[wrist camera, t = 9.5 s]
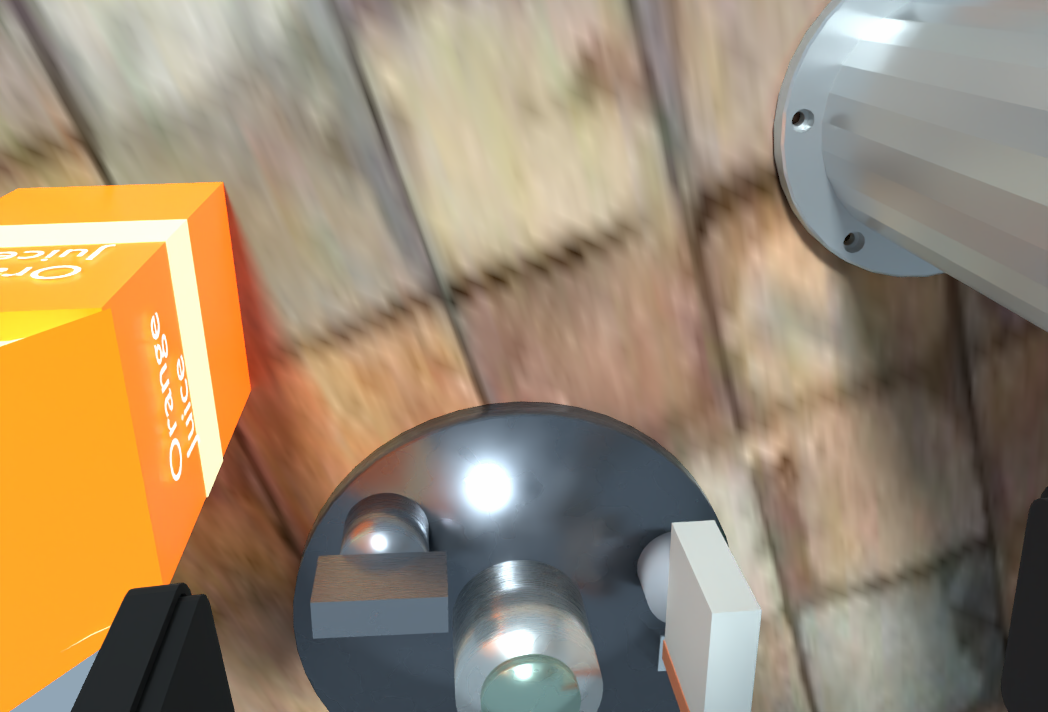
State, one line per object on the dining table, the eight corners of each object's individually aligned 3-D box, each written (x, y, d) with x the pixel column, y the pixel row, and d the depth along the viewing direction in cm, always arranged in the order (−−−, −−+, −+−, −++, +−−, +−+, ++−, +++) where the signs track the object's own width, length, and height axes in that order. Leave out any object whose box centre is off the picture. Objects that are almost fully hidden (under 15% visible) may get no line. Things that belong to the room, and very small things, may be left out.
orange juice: (60, 401, 39) (-275, 795, 20) (13, 186, 35) (-441, 423, 17) (256, 391, 39) (104, 764, 21) (228, 179, 36) (18, 399, 17)
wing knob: (640, 499, 41) (687, 616, 34) (721, 494, 41) (786, 609, 34) (634, 631, 44) (677, 766, 36) (710, 626, 44) (768, 759, 36)
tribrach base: (746, 396, 41) (810, 481, 35) (705, 748, 49) (751, 876, 42) (280, 407, 40) (250, 499, 33) (312, 772, 47) (292, 910, 40)
